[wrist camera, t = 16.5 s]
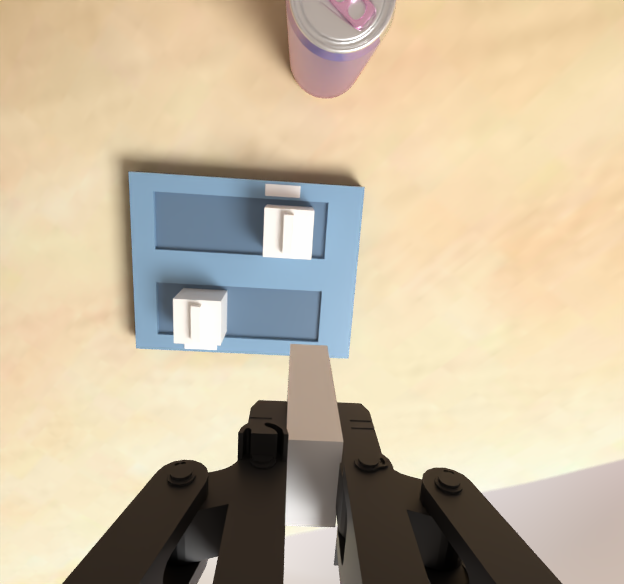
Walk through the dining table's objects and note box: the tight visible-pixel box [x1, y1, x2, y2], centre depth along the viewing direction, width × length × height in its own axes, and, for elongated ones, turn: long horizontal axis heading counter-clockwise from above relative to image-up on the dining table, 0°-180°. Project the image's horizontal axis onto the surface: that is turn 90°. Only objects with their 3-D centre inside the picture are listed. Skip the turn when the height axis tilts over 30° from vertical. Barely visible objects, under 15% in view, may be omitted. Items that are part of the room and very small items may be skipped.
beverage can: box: [286, 0, 396, 98], centre depth 30 cm, size 6×6×15 cm
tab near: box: [263, 204, 314, 260], centre depth 37 cm, size 4×4×4 cm
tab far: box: [173, 288, 227, 346], centre depth 39 cm, size 4×4×4 cm
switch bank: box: [129, 171, 365, 358], centre depth 41 cm, size 20×16×2 cm
